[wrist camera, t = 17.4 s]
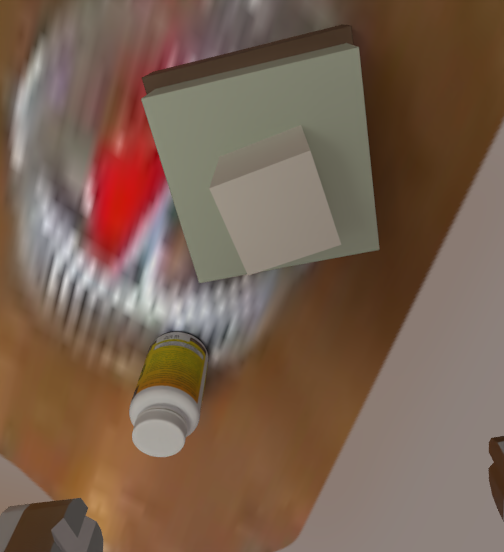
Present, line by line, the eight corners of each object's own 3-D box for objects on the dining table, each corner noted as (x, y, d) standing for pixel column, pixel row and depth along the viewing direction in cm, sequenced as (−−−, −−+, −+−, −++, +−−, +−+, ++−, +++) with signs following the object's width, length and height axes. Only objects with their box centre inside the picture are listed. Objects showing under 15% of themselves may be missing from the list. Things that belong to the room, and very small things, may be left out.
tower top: (155, 88, 30) (141, 98, 26) (346, 43, 28) (358, 47, 25) (205, 256, 35) (199, 283, 32) (367, 225, 34) (379, 249, 30)
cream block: (219, 156, 28) (209, 188, 22) (301, 124, 27) (310, 150, 21) (250, 230, 30) (248, 275, 25) (327, 203, 29) (341, 244, 24)
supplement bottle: (144, 330, 43) (113, 413, 34) (205, 327, 43) (190, 410, 34) (154, 377, 46) (128, 466, 37) (212, 375, 45) (200, 464, 36)
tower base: (154, 71, 33) (141, 77, 29) (341, 24, 31) (351, 25, 28) (204, 238, 39) (198, 260, 35) (363, 206, 37) (373, 226, 34)
